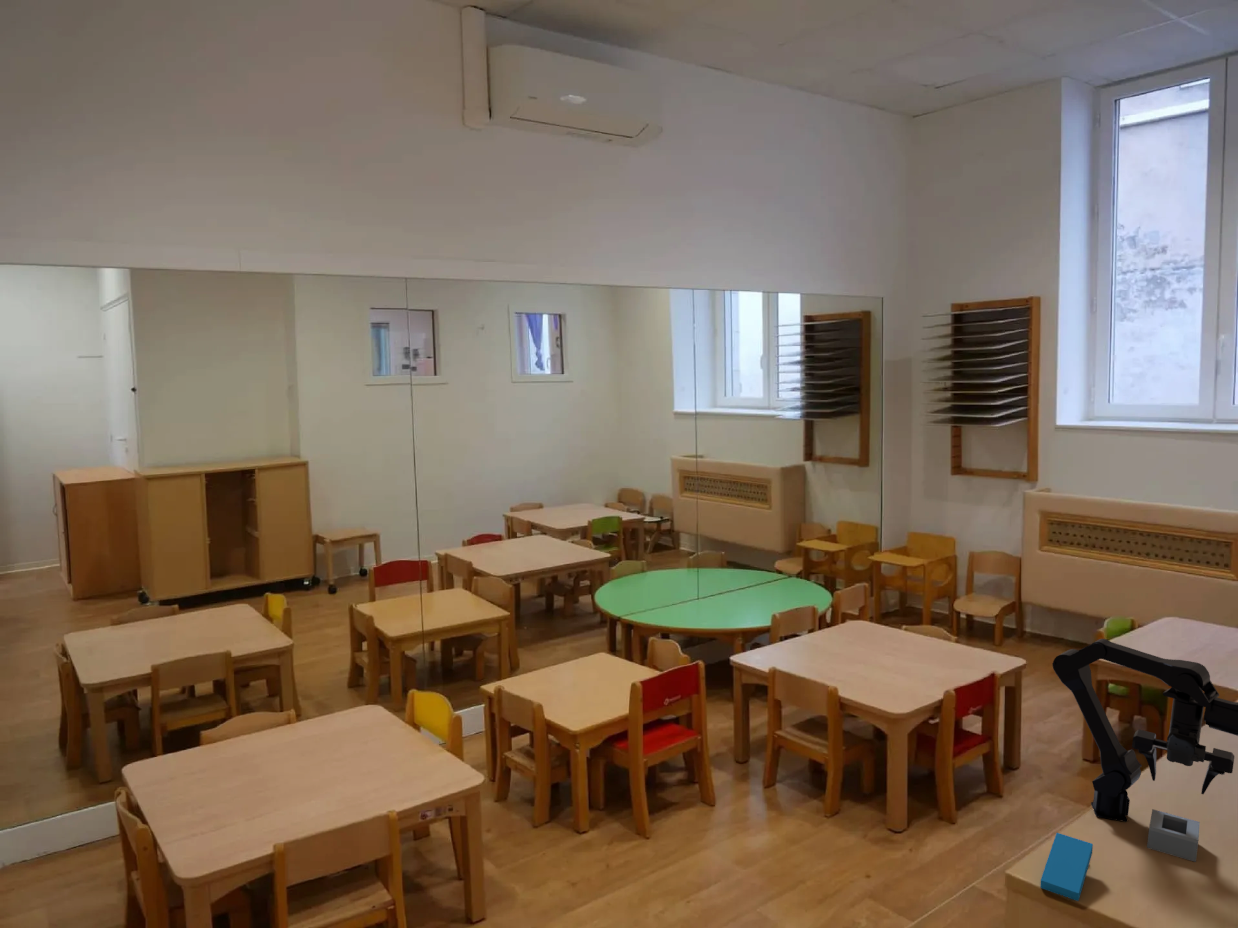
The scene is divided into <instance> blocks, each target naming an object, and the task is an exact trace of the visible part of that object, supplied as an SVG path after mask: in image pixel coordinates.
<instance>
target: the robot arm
mask: <svg viewBox="0 0 1238 928" xmlns="http://www.w3.org/2000/svg"><path fill="white" fill-rule="evenodd" d="M1099 660H1103V661H1107V662H1110V663H1113V664H1115V665H1119V666H1120V667H1121V666H1122V667H1125V668H1128V669H1131V670H1134V671H1137V672H1139V673H1143V674H1145V675H1149V676H1152V677H1154V678H1156V679H1159V680H1161V681H1162V682H1163V683H1164V684H1165V685H1167V686H1169V688H1168V689H1166V690H1165V691H1163V692H1162V696H1164V697H1167V698H1171V699H1172V705H1171V707H1172V708H1171V713H1170V714H1171V715H1170V721H1169V723H1170V724H1169V731H1168V735H1167V737H1166V740H1161V739H1157V734H1156V732H1151V731H1146V730H1143V729H1140V728H1139V729H1137V730H1136V731H1135V733H1134V734H1133V737H1132V743H1131V744H1132V745H1131V749H1129V750H1127V749H1126V748H1125V747H1124V746H1123V745H1122V744H1121V743H1120V741H1119V739H1118V737H1117V735H1116V733H1115V730H1114V728H1113V726H1112V724H1111V722H1110V719H1109V717H1108V716H1107V714H1106V711H1105V709H1104V708H1103V705H1102V704H1101V702H1100V699H1099V697H1098V694H1097V693H1096V691H1095V689H1094V687H1093V681H1092V680H1093V679H1092V670H1091V667H1090V665H1092V664H1093V663H1094V662H1097V661H1099ZM1051 666H1052V669H1053V672H1054V673H1055V674H1056V676H1057V677H1058V679H1059V680H1060V682H1061V683H1062V684H1063V685H1064V686H1065V687H1066V688H1067V689H1068V690H1069V691H1070V692H1071V693H1072V695H1073V696H1074V699H1075V701H1076V704H1077V705H1078V707H1079V710H1080V712H1081V713H1082V716H1083V718H1084V720H1085V722H1086V724H1087V727H1088V729H1089V730H1090V733H1091V734H1092V737H1093V739H1094V742H1095V743H1096V745H1097V749H1098V751H1099V754H1100V755H1099V757H1100V767H1101V770H1102V773H1101V774H1099V775H1098V776H1097V777H1095V778H1094V779H1093V780H1092V781H1091V782H1092V783H1091V784H1092V786H1093V789H1094V791H1093V800H1092V801H1091V802H1090V805H1091V808H1092V809H1094V810H1093V812H1094V814H1095V817H1097V818H1101V819H1109V820H1113V821H1119V822H1121V821H1122V822H1128V816H1129V813H1130V812H1129V811H1130V803H1131V801H1130V798H1129V795H1128V793H1129V792H1128V789H1130V788H1131V787H1132V786H1133V785H1134V784H1135V783H1136V782H1137V781H1138V780H1139V779H1140V778H1141V774H1142V771H1141V768H1142V766H1143V765H1142V764H1141V763H1140V761H1139V760H1138V758H1137V755H1136V752H1135V750H1138V753H1139V754H1141V755H1143V756H1144V758H1145V759H1146V762H1147V765H1148V767H1149V771H1150V776H1151V780H1152V781H1153V782H1155V781H1156V775H1157V749H1160V750H1163V751H1166V759H1167V761H1168V762H1171V763H1177V764H1180V765H1183V766H1186V767H1191V766H1193V765H1194V762H1196V763H1199V762H1200V763H1204V762H1205V761H1206V762H1208V766H1207V769H1206V773H1205V777H1204V779H1203V781H1202V782H1203V783H1202V787H1201V793H1200V794H1201V795H1204V794H1205V792H1206V791H1207V789H1208V787H1209V786H1210V785H1211V783H1212V781H1214V779H1215V778H1216V777H1217V776H1218V775H1222V776H1223V775H1225V774H1233V769H1234V764H1235V763H1234V762H1235V758H1236V757H1235V754H1233V752H1231V751H1229V750H1224V749H1219V748H1215V747H1213V749H1212V752H1209V751H1206V750H1207V746H1206V745H1204V744H1200V739H1201V732H1202V725H1203V724H1202V723H1203V721H1204V722H1205V725H1206V726H1208V728H1209V729H1212V730H1213V729H1214V730H1216V731H1218V732H1219V731H1220V732H1223V733H1227V734H1230V735H1233V736H1237V737H1238V701H1231V700H1227V699H1224V698H1220V693H1219V691H1218V690H1217V689H1216V687H1215V685H1214V684H1213V683H1212V681H1211V675H1210V672H1209V670H1208V668H1207V667H1206V666H1205V665H1203V664H1201V663H1200V662H1197V661H1196V662H1195V661H1191V660H1190V661H1189V660H1184V659H1171V658H1170V659H1169V658H1163V657H1160V656H1156V655H1153V654H1150V653H1148V652H1143V651H1141V650H1137V649H1134V648H1131V647H1128V646H1126V645H1122V644H1119V643H1116V642H1113V641H1110V640H1109V639H1106V638H1100V639H1097V640H1096V641H1094V642H1092V643H1090V644H1089V645H1086V646H1084V647H1082V648H1081V649H1079V650H1078V649H1075V648H1071V649H1068V650H1065V651H1064V652H1062V653H1060V654H1058V655H1056V656H1055V658H1054V659H1053V661H1052V665H1051ZM1204 708H1205V709H1204Z"/></svg>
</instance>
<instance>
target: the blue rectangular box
mask: <svg viewBox="0 0 1238 928" xmlns="http://www.w3.org/2000/svg"><path fill="white" fill-rule="evenodd" d="M1093 847H1094V845H1093V843H1091V842H1088V841H1084V840H1081V839H1080V838H1079V839H1078V838H1075V837H1072V836H1069V835H1066V834H1063V833H1059V832H1056V833H1055V837H1054V839H1053V843H1052V844H1051V848H1050V851H1049V854H1048V857H1047V860H1046V862H1045V866H1044V869H1043V871H1042V875H1041V878H1040V889H1043V890H1046V891H1048V892H1051V893H1054V894H1057V895H1059V894H1060V895H1059V896H1062V895H1063V897H1066V898H1067V897H1068V899H1071V900H1072V901H1073V900H1074V901H1076V902H1079V900H1080V897H1081V894H1082V890H1083V887H1084V884H1085V881H1086V880H1085V879H1086V876H1087V873H1088V870H1089V866H1090V863H1091V860H1092V855H1093Z"/></svg>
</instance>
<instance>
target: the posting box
mask: <svg viewBox="0 0 1238 928" xmlns="http://www.w3.org/2000/svg"><path fill="white" fill-rule="evenodd" d="M1150 815H1151V816H1150V822H1149V828H1148V836H1147V843H1146V844H1147V845H1146V848H1147V849H1149V850H1154V851H1157V852H1160V853H1164V854H1167V855H1171V856H1174V857H1176V858H1177V857H1178V858H1181V859H1184V860H1187V861H1192V862H1194V863H1196V862H1197V856H1198V849H1199V840H1200V838H1199V837H1200V823H1201V822H1200V821H1197V820H1194V819H1191V818H1186V817H1183V816H1179V815H1176V814H1172V813H1168V812H1165V811H1160V810H1157V809H1153V808H1152V809H1151V814H1150ZM1168 829H1170V830H1168ZM1172 830H1173V831H1172ZM1175 831H1176V832H1175ZM1179 832H1180V833H1179Z"/></svg>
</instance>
